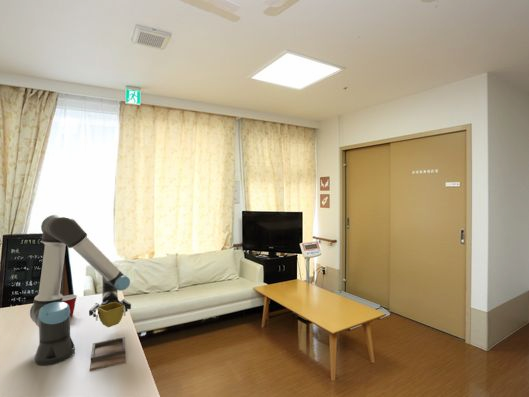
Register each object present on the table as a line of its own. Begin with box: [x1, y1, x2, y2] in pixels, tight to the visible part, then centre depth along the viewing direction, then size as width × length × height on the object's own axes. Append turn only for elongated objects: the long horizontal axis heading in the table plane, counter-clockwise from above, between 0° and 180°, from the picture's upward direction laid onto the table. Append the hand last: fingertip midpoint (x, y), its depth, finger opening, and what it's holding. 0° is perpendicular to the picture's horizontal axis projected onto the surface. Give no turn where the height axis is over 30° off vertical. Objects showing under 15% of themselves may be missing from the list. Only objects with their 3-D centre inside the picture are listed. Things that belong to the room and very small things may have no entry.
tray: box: [89, 336, 127, 372], centre depth 139 cm, size 20×14×2 cm
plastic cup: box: [62, 294, 78, 318], centre depth 180 cm, size 11×11×12 cm
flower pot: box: [97, 302, 124, 328], centre depth 144 cm, size 9×9×9 cm
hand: (110, 315), depth 140 cm, fingers closed on flower pot, 11 cm apart
